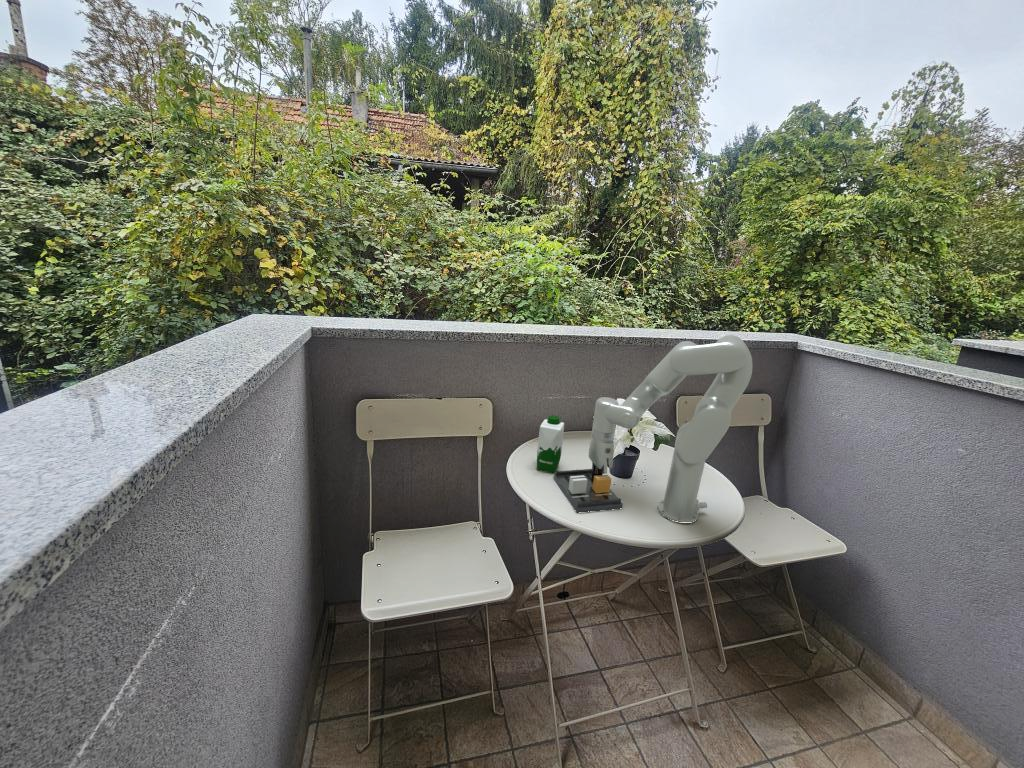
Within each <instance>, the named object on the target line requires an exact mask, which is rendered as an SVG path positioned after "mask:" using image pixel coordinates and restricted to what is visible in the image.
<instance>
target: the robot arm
mask: <svg viewBox="0 0 1024 768" xmlns="http://www.w3.org/2000/svg"><path fill="white" fill-rule="evenodd" d="M713 374H717V375H716V376H715V377H714V379H713V381H712V383H711V384H710V386H709V387H708V389H707V390H706V392H705V393H704V394H703V396H702V398H700V400H699V402H698V403H697V404H696V406H695V410H694V415H693V416H692V418H691V420H690V421H688V422H686V423H683V424H682V425H681V426H680V427H679V429H678V430H677V433H676V437H675V441H674V442H675V443H674V450H673V455H672V458H671V459H672V460H671V463H670V469H669V474H668V478H667V483H666V488H665V493H664V499H663V500H661V501H659V502H658V504H657V511H658V510H659V511H658V513H659V512H660V513H661V514H662V515H664V516H665V517H667V518H669V519H671V520H674V521H678V522H693V521H695V520H698V519H697V518H699V513H698V511H699V509H707V508H708V504H707V502H706V501H702V502H701V501H699V499H698V495H699V490H700V486H701V481H702V476H703V473H704V469H705V463H706V460H707V459H708V457H710V455H711V454H712V453H713V451H715V448H716V447H717V446H718V444H719V443H720V442H721V440H722V439H723V437H724V436H725V434H726V433H727V431H728V430H729V427H730V426H731V421H732V417H731V416H732V414H731V413H732V411H733V409H734V407H735V406H736V404H737V403H738V401H739V400H740V398H741V396H742V395H743V393H744V392H745V390H746V389H747V387H748V385H749V383H750V380H751V378H752V375H753V357H752V354H751V352H750V350H749V348H748V346H747V344H746V343H745V341H744V340H743V339H742V338H740V337H738V336H737V335H732V334H728V335H724V336H722V337H720V338H719V339H717V341H716V342H715V343H707V344H696V343H695V342H693V341H690V340H684V341H680V342H679V343H677V344H676V345H675V346H674V347H673V348H671V350H670V351H669V352H668V353H667V354H666V355H665V356H664V357H663V359H661V361H660V362H659V363H658V364H657V365H656V366H655V367H654V368H653V369H652V370H651V371H650V373H648V375H646V377H645V378H644V380H643V381H642V382H641V383H640V384H638V386H637V387H636V388H635V389H634V390H633V391H632V392H631V393H630V395H628V397H627V398H626V399H625V400H624V401H623V402H622V403H621V404H619V402H618V400H616V399H615V398H612V397H608V396H607V397H604V396H603V397H599V398H598V399H596V401H595V407H594V415H593V421H592V429H591V435H590V437H591V438H590V442H589V449H588V458H589V460H590V461H591V464H592V467H591V469H592V470H593V471H592V478H591V481H592V482H593V481H594V476H598V475H608V468H609V469H610V470H611V469H612V468H613V466H614V465H613V464H614V453H615V449H614V448H615V446H614V445H615V443H614V442H615V441H614V439H615V434H616V427H617V426H618V427H621V428H623V429H630V430H631V429H634V428H636V427H637V426H638V425H639V424H640V422H641V421H642V420H641V419H642V417H643V415H644V414H645V413H646V412H647V410H648V409H650V407H651V406H653V404H654V403H655V402H656V401H658V400H659V399H661V397H663V396H667V395H669V394H670V393H671V392H673V390H674V389H676V388H677V386H678V385H679V384H681V382H682V381H683V380H684V379H685V378H686V377H687V376H701V375H713ZM660 513H659V514H660ZM661 514H660V515H661ZM662 515H661V516H662ZM664 516H663V517H664ZM665 517H664V518H665ZM667 518H666V519H667ZM669 519H668V520H669ZM671 520H670V521H671ZM695 522H696V521H695Z"/></svg>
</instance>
